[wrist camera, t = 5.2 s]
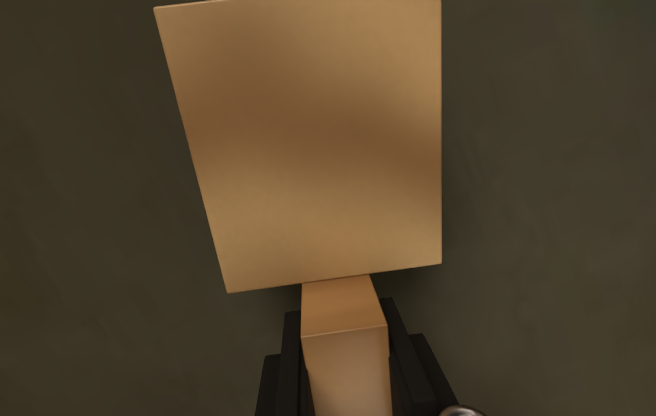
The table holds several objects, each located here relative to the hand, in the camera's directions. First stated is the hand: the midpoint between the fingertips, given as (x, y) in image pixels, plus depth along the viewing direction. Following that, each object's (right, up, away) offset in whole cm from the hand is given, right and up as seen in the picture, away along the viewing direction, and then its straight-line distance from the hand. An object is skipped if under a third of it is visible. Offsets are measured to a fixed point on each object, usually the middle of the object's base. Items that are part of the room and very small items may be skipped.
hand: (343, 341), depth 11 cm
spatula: (0, +2, 0) cm, 2 cm away
